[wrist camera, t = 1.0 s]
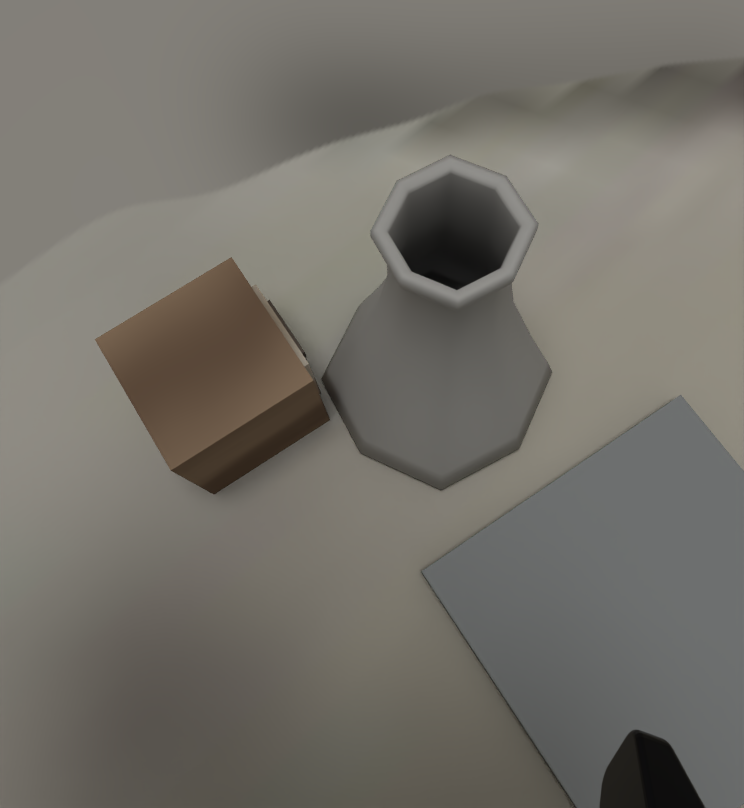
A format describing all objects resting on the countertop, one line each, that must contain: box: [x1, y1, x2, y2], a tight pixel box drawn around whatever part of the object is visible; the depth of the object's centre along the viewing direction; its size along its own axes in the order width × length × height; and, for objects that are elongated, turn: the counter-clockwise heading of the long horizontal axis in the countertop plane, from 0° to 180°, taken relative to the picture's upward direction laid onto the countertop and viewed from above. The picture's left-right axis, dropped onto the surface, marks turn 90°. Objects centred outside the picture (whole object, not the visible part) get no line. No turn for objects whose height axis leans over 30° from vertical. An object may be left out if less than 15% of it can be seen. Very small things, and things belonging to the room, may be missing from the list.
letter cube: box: [95, 257, 330, 494], centre depth 22 cm, size 4×5×4 cm
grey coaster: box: [421, 395, 744, 808], centre depth 21 cm, size 10×10×1 cm
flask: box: [321, 155, 552, 490], centre depth 19 cm, size 7×7×10 cm
